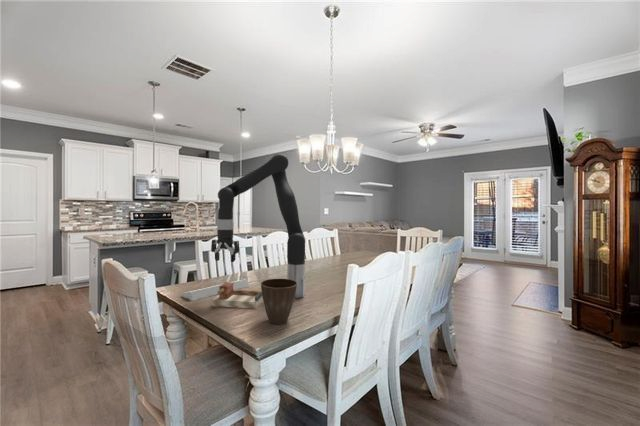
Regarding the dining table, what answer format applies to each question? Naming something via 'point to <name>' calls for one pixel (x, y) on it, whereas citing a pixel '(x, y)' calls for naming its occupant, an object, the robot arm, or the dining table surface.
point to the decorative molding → (212, 290)
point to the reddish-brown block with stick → (225, 290)
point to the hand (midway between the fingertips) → (225, 261)
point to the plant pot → (278, 298)
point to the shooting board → (240, 299)
